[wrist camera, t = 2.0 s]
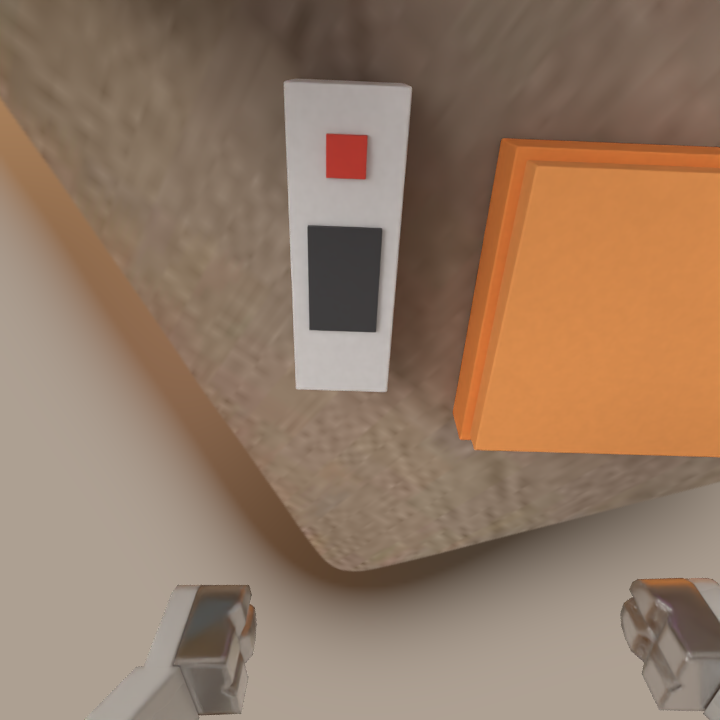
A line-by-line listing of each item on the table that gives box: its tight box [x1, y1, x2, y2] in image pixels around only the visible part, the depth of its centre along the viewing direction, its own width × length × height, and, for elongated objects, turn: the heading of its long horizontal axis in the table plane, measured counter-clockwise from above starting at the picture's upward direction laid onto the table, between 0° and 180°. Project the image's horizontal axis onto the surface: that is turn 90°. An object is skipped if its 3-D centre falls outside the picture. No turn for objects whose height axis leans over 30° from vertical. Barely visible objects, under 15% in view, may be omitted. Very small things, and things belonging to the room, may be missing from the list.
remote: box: [284, 79, 412, 392], centre depth 23 cm, size 14×5×4 cm, turn 178°
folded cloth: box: [453, 138, 720, 457], centre depth 25 cm, size 16×16×4 cm
